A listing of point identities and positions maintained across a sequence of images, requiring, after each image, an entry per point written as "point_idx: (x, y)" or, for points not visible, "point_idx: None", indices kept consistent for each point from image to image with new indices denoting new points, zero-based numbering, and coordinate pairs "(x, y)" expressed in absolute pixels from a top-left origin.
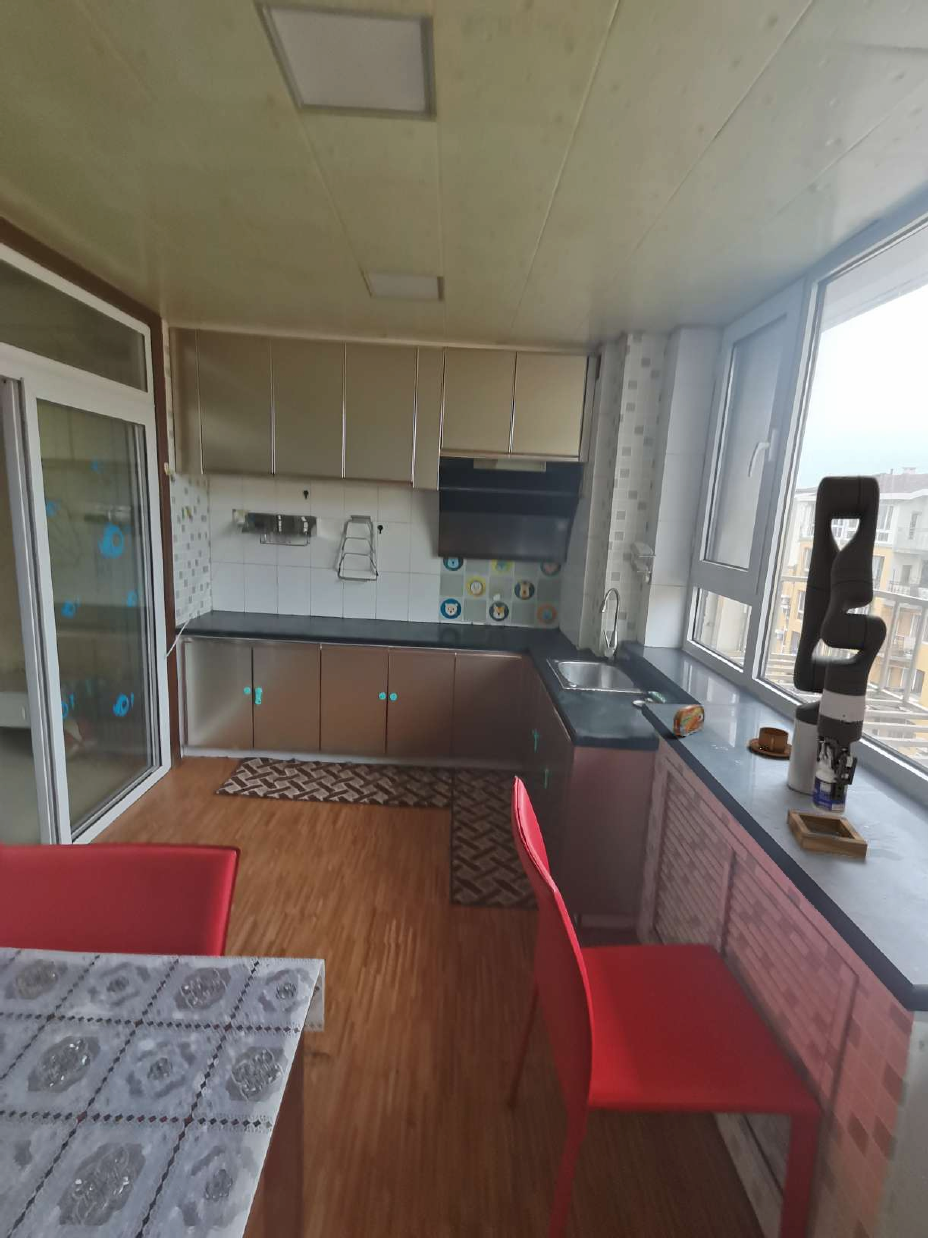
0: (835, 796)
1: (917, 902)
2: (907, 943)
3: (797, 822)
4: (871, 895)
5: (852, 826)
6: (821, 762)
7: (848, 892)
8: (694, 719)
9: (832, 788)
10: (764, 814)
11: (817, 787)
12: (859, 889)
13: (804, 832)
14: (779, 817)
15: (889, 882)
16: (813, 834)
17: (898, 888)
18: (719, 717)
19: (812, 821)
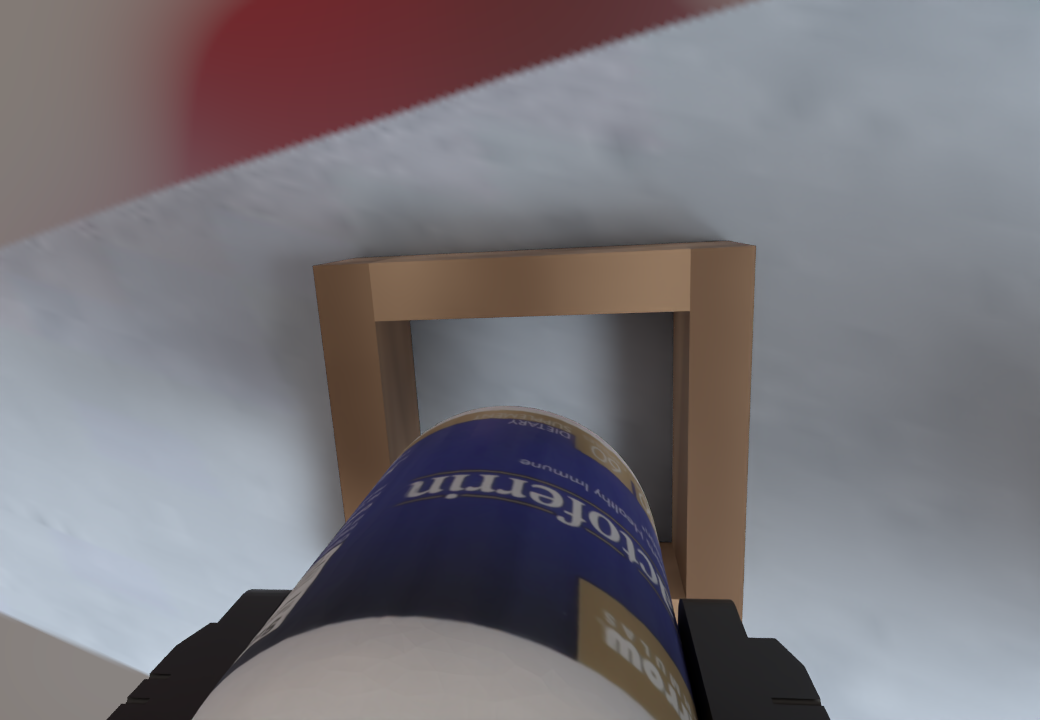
0: (170, 661)
1: (78, 642)
2: None
3: (528, 266)
4: (37, 473)
5: None
6: None
7: (8, 374)
8: None
9: (149, 710)
10: (846, 94)
11: (379, 524)
12: (63, 437)
13: (367, 276)
14: (818, 208)
15: (197, 598)
16: (364, 336)
17: (160, 615)
18: None
19: (680, 409)
